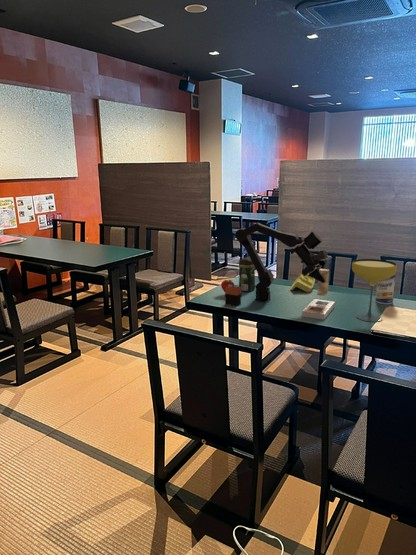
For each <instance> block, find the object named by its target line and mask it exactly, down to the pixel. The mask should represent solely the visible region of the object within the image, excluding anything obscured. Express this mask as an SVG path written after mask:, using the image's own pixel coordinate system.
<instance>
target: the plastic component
mask: <svg viewBox="0 0 416 555" xmlns="http://www.w3.org/2000/svg"><path fill="white" fill-rule="evenodd" d="M309 274H310V273H308V274H307V275H306V276H303V275H302V271H301V272H300V273H299V275H298V276H297V277H296V279H295V280H294V282H293V283H292V285H291V287H290V290H289V291H294V289H296V288H298V289H300V290H301V291H304V292H306V293H310V292H311V291H312V290H313V288H314V285H315V282H316V279H314V278H312V277H310V276H308V275H309Z"/></svg>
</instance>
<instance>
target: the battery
mask: <svg viewBox="0 0 416 555" xmlns="http://www.w3.org/2000/svg"><path fill="white" fill-rule="evenodd" d="M224 296H225V300H224V302H225V305H226V306H232V307H238V306H240V305H242V291H241V287H239V284H234V286H232V285H228V286H227V287H225V292H224Z"/></svg>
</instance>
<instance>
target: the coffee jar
mask: <svg viewBox="0 0 416 555" xmlns="http://www.w3.org/2000/svg"><path fill="white" fill-rule="evenodd" d="M238 267H239V277H238V287H241V292H243V293H244V292H252V291H254V290H256V287H255V286H256V276H255V275H256V273H255V272H256V271H255V270H256V268H255V266H254V265H253V263H252V261H251V259H250V257H249V256H246V257H244V258H241V259H239V260H238Z"/></svg>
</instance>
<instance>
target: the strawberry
mask: <svg viewBox="0 0 416 555" xmlns="http://www.w3.org/2000/svg"><path fill="white" fill-rule="evenodd" d="M228 285H232V286H234V285H235V283H234V281H233V280H232V279H229V278H228V279H224V280H223V281H222V282H221V284H220V287H221V289H222V291H223V292H224V293H225V287H227V286H228Z"/></svg>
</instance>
